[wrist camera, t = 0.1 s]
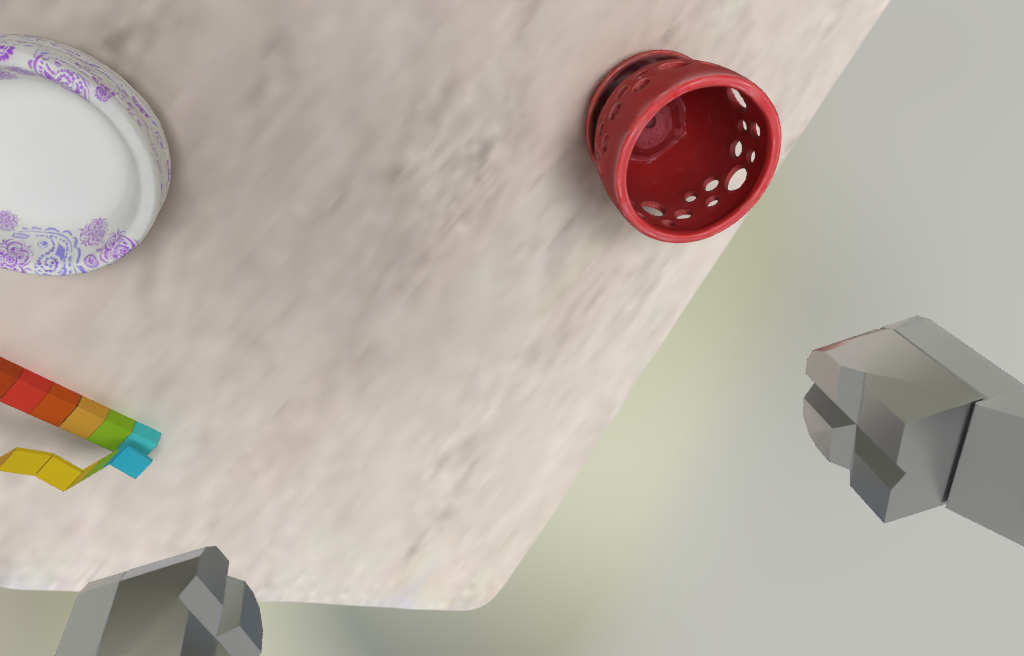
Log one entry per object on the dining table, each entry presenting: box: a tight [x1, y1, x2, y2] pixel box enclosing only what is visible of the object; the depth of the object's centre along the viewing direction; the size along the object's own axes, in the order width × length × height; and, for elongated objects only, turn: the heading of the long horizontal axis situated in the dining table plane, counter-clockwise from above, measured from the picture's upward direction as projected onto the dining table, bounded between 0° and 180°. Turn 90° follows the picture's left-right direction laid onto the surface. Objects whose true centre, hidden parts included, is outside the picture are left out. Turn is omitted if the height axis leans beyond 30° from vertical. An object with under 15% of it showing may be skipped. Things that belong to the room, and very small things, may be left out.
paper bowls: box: [0, 35, 171, 276], centre depth 45 cm, size 15×15×8 cm
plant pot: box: [585, 50, 781, 243], centre depth 53 cm, size 13×13×12 cm
